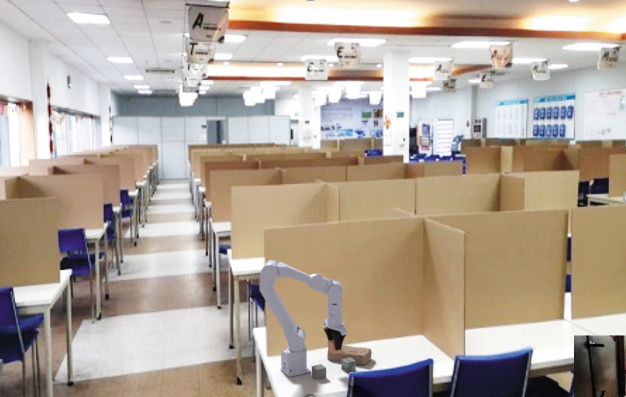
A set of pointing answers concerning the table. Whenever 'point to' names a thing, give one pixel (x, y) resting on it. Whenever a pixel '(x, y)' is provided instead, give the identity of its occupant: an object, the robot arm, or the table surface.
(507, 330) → the table surface
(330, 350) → the terracotta block
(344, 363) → the slate block
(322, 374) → the gray block
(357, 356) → the brick
